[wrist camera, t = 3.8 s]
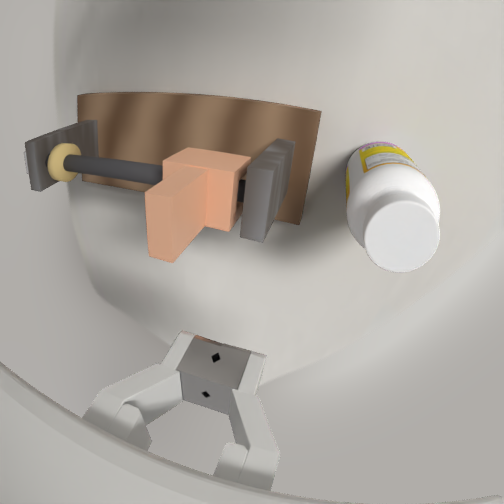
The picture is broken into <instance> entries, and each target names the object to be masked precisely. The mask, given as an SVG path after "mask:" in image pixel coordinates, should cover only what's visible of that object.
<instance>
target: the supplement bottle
mask: <svg viewBox="0 0 504 504" xmlns="http://www.w3.org/2000/svg"><path fill="white" fill-rule="evenodd" d="M346 212H347V221H348V225H349V228H350V231H351V233H352V235H353V236H354V238H355V239H356V241H357V242H358V243H359V244H360V245H361V246H362V247H363V248H365V250H366V252H367V254H368V256H369V258H370V259H371V260H372V261H373V262H374V263H375V264H376V265H377V266H379V267H380V268H382V269H384V270H387V271H390V272H397V273H402V272H409V271H412V270H415V269H417V268H419V267H421V266H423V265H424V264H425V263H426V262H428V261H429V260H430V258H431V257H432V256H433V255H434V253H435V251H436V249H437V247H438V244H439V239H440V230H439V225H438V223H439V218H440V205H439V200H438V196H437V194H436V191H435V189H434V188H433V186H432V184H431V183H430V181H429V180H428V179H427V178H426V176H425V175H424V174H423V173H422V172H421V170H420V169H419V168H418V167H417V165H416V164H415V163H414V162H413V161H412V159H411V158H410V157H409V156H408V155H407V154H406V153H405V152H404V151H403V150H402V149H401V148H399V147H398V146H396V145H394V144H392V143H388V142H383V141H376V142H371V143H368V144H365V145H363V146H361V147H360V148H359V149H357V150H356V151H355V152H354V153H353V155H352V156H351V158H350V159H349V162H348V164H347V168H346Z"/></svg>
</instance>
